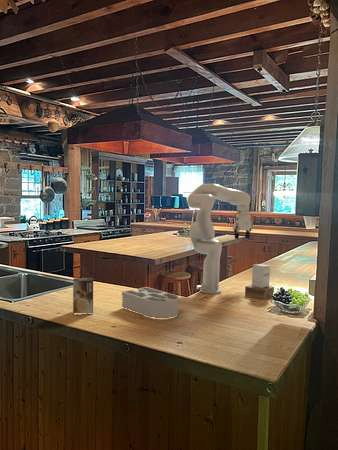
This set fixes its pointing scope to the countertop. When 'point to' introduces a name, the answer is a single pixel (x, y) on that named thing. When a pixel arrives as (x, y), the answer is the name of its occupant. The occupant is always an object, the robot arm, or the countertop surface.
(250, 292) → the walnut box
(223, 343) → the countertop surface
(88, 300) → the coffee box
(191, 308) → the countertop surface
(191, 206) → the robot arm
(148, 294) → the ice cube tray
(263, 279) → the supplement box
